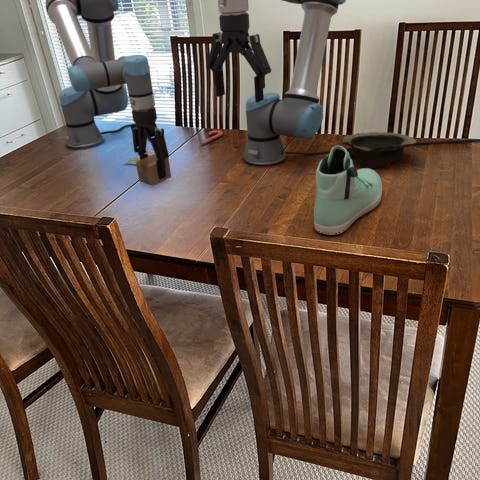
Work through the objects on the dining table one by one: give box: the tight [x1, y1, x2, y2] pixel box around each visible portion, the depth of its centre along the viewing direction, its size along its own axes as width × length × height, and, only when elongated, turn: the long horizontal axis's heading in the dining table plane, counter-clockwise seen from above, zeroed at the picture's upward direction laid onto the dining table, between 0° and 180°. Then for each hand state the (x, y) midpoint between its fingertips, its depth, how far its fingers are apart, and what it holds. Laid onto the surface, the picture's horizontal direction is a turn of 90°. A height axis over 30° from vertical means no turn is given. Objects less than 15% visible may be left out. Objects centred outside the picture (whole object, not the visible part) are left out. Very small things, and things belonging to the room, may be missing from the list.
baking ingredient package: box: [124, 149, 155, 165], centre depth 185 cm, size 9×1×15 cm
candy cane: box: [200, 130, 224, 146], centre depth 198 cm, size 6×15×2 cm, turn 145°
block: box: [135, 154, 172, 187], centre depth 161 cm, size 7×8×7 cm
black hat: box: [341, 131, 418, 169], centre depth 166 cm, size 25×25×9 cm
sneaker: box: [313, 145, 383, 236], centre depth 133 cm, size 14×35×20 cm, turn 152°
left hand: (154, 175), depth 162 cm, fingers closed on block, 7 cm apart
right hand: (239, 98), depth 131 cm, fingers open, 13 cm apart
